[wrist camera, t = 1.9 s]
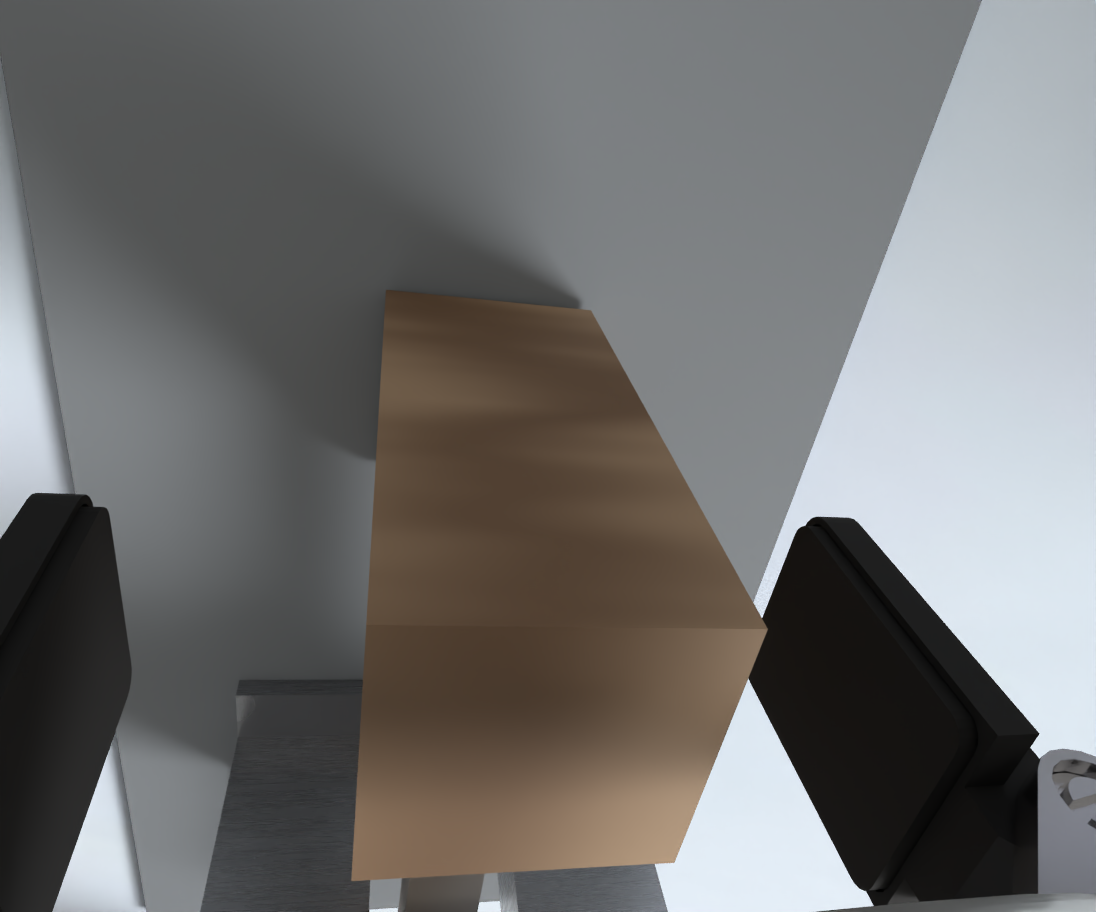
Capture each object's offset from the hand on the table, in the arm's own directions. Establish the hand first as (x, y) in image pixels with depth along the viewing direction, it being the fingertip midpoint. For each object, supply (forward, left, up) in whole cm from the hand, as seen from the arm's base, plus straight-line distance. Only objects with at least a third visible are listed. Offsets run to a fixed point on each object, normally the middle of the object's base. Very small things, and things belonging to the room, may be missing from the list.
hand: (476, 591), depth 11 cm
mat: (-1, +3, -7) cm, 7 cm away
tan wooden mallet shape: (-1, +8, -6) cm, 10 cm away
